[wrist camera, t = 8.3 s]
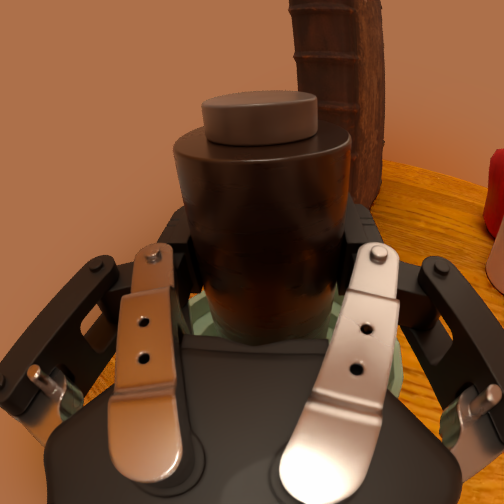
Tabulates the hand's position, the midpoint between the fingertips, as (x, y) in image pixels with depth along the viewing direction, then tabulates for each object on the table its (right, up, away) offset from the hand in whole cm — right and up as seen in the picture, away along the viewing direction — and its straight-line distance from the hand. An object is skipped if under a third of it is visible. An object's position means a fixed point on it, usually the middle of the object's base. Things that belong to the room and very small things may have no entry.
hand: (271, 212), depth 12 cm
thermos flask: (0, -8, +3) cm, 8 cm away
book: (+9, +3, +19) cm, 21 cm away
